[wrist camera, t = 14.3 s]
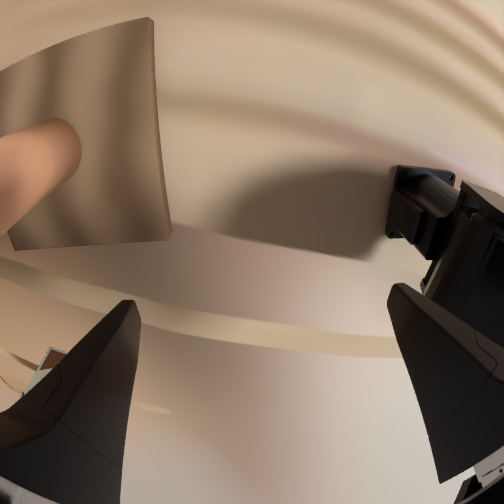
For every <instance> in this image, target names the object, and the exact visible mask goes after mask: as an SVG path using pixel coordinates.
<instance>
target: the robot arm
mask: <svg viewBox="0 0 504 504" xmlns="http://www.w3.org/2000/svg"><path fill="white" fill-rule="evenodd" d="M403 170H404V173H403V174H402V171H403ZM450 176H451V178H450ZM454 182H455V174H454V173H453V172H451V171H445V170H438V169H430V168H421V167H412V166H400V167H398V169H397V172H396V178H395V184H394V190H393V192H392V196H391V202H390V207H389V212H388V217H387V219H388V221H387V225H386V230H385V234H386V236H387V237H388V238H390V239H392V238H405V239H406V240H407V241H408V242H409V243H410V244H411V245H414V246H415V247H416V249H417V250H418V251H419V252H420V253H421V254H422V255H423V257H424V258H425V259H426V260H432V263H431V265H430V267H429V270H428V272H427V274H426V276H425V278H423V279H422V281H421V283H420V287H421V290H422V293H423V295H422V294H421V293H419V292H418V291H416V290H414V289H413V288H411V287H410V286H408V285H406V284H405V283H396V284H394V285H393V286H392V288H391V291H390V294H389V297H388V300H387V308H388V311H389V315H390V318H391V321H392V325H393V329H394V332H395V336H396V339H397V343H398V345H399V348H400V351H401V353H402V356H403V359H404V361H405V364H406V367H407V370H408V373H409V376H410V379H411V382H412V384H413V387H414V391H415V394H416V397H417V400H418V403H419V406H420V409H421V413H422V416H423V420H424V423H425V426H426V430H427V434H428V436H429V442H430V445H431V449H432V453H433V457H434V462H435V466H436V470H437V475H438V480H439V483H440V484H441V483H443V482H445V481H447V480H449V479H451V478H453V477H455V476H457V475H458V474H460V473H462V472H464V471H465V470H467V469H469V468H471V467H472V466H473V467H474V470H475V473H476V474H475V475H473V476H472V477H470V478H468V479H467V480H465V481H463V483H462V486H461V488H460V491H459V493H458V495H457V497H456V500H455V502H454V504H504V197H502V196H501V195H499V194H498V193H496V192H493V191H491V190H488V189H485V188H483V187H480V186H477V185H475V184H472V183H469V182H466V181H463V180H462V182H461V186H460V188H461V190H460V191H458V190H457V189H455V188H454ZM391 231H392V233H391V234H389V233H390V232H391ZM140 330H141V317H140V314H139V311H138V309H137V306H136V303H135V301H134V300H122V301H121V302H120V303H119V304H118V305H117V306H116V307H114V308H113V309H112V310H111V311H110V312H109V313H108V314H107V315H106V316H105V317H104V318H103V319H102V320H101V321H100V322H99V323H98V324H97V325H96V326H95V327H94V328H93V329H92V330H90V331H89V332H88V333H87V334H86V335H85V336H84V338H82V339H81V340H80V341H79V342H78V343H77V344H76V345H75V346H74V347H73V348H72V349H71V350H70V351H69V352H68V353H67V354H66V355H65V356H64V357H63V358H62V359H61V360H60V362H59V363H57V364H56V365H55V366H54V368H53V369H52V370H51V371H50V372H49V373H48V374H47V375H46V376H45V377H44V378H43V379H41V380H40V381H39V382H38V383H37V384H36V385H35V386H34V387H33V388H32V389H30V390H29V391H28V392H27V393H26V394H25V395H24V396H23V397H21V398H20V399H19V400H18V401H17V402H16V403H15V404H14V405H13V406H11V407H10V408H9V409H7V410H6V411H3V412H1V413H0V504H120V491H121V478H122V465H123V455H124V446H125V438H126V430H127V422H128V416H129V409H130V403H131V397H132V390H133V385H134V379H135V374H136V369H137V362H138V353H139V352H138V351H139V339H140Z"/></svg>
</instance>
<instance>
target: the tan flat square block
mask: <svg viewBox="0 0 504 504" xmlns="http://www.w3.org/2000/svg"><path fill="white" fill-rule="evenodd" d="M50 118H60V119H63V120H65V121H67V122H68V123H70V124H71V125H72V126H73V127H74V129H75V130H76V132H77V134H78V136H79V139H80V142H81V150H82V153H81V161H80V164H79V167H78V169H77V171H76V173H75V174H74V175H73V176H72V177H71V178H70V179H69V180H67V181H66V182H65V183H63V184H62V185H61V186H59V187H58V188H57V189H56V190H54V191H53V192H52V193H50V194H49V195H48V196H47V197H46V198H44V199H43V200H42V201H41V202H39V203H38V204H37V205H36V206H35V207H33V208H32V209H31V210H30V211H29V212H28V213H27V214H25V215H24V216H23V217H22V218H21V219H20V220H19V221H18V222H16V223H15V224H14V225H13V226H12V227H11V228H10V229H9V230H8V231H7V232H8V234H9V237H10V240H11V242H12V245H13V247H14V250H15V251H18V250H30V249H42V248H56V247H69V246H84V245H98V244H112V243H113V244H114V243H129V242H146V241H163V240H169V238H170V235H171V232H172V227H171V221H170V214H169V208H168V201H167V194H166V186H165V179H164V171H163V162H162V153H161V144H160V134H159V123H158V111H157V98H156V81H155V59H154V21H153V20H151V19H150V18H149V17H145V18H140V19H136V20H131V21H127V22H123V23H119V24H115V25H111V26H108V27H104V28H101V29H98V30H94V31H91V32H88V33H85V34H82V35H79V36H76V37H74V38H71V39H68V40H66V41H63V42H60V43H58V44H55V45H53V46H51V47H48V48H46V49H44V50H41V51H39V52H37V53H35V54H33V55H31V56H28V57H26V58H24V59H22V60H20V61H18V62H17V63H15V64H13V65H11V66H9V67H7V68H5V69H4V70H2V71H0V137H3V136H5V135H7V134H10V133H12V132H15V131H17V130H20V129H22V128H25V127H28V126H30V125H33V124H36V123H39V122H41V121H44V120H47V119H50Z"/></svg>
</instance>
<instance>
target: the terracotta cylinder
mask: <svg viewBox="0 0 504 504" xmlns="http://www.w3.org/2000/svg"><path fill="white" fill-rule="evenodd" d="M81 153H82V150H81V142H80V139H79V136H78V134H77V132H76V130H75V129H74V127H73V126H72V125H71V124H70V123H68V122H67V121H65V120H63V119H60V118H50V119H47V120H44V121H41V122H39V123H36V124H33V125H30V126H28V127H25V128H22V129H20V130H17V131H15V132H12V133H10V134H7V135H5V136H3V137H0V238H1V237H2V236H3V235H4V234H5V233H6V232H7V231H8V230H9V229H10V228H11V227H12V226H13V225H14V224H15V223H16V222H18V221H19V220H20V219H21V218H22V217H23V216H24V215H25V214H27V213H28V212H29V211H30V210H31V209H32V208H33V207H35V206H36V205H37V204H38V203H39V202H41V201H42V200H43V199H44V198H46V197H47V196H48V195H49V194H50V193H52V192H53V191H54V190H56V189H57V188H58V187H59V186H61V185H62V184H63V183H65V182H66V181H67V180H69V179H70V178H71V177H72V176H73V175H74V174H75V173H76V171H77V169H78V167H79V164H80V161H81Z"/></svg>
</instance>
